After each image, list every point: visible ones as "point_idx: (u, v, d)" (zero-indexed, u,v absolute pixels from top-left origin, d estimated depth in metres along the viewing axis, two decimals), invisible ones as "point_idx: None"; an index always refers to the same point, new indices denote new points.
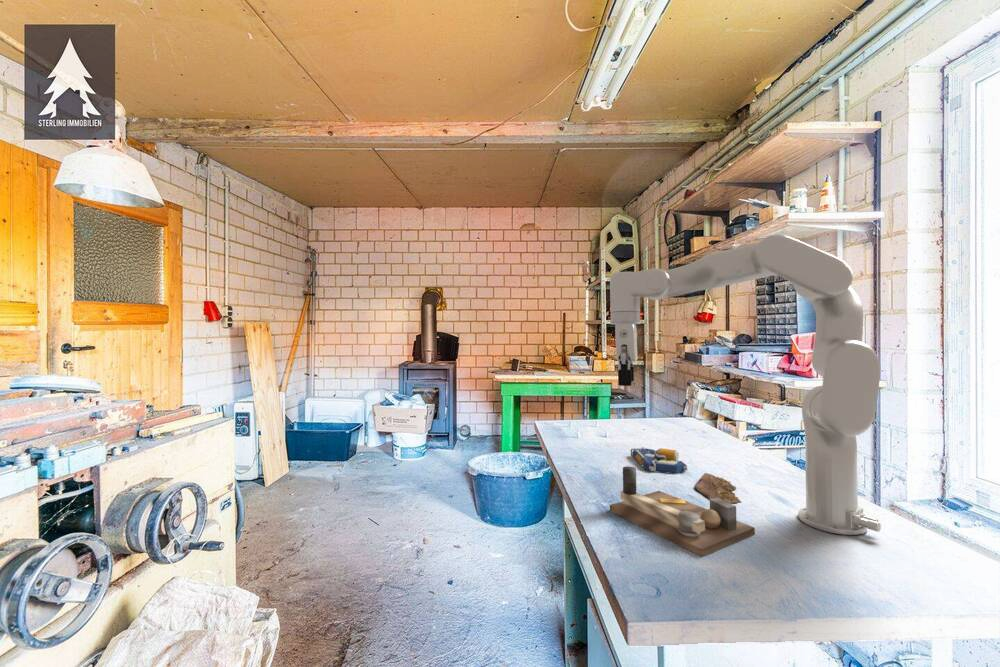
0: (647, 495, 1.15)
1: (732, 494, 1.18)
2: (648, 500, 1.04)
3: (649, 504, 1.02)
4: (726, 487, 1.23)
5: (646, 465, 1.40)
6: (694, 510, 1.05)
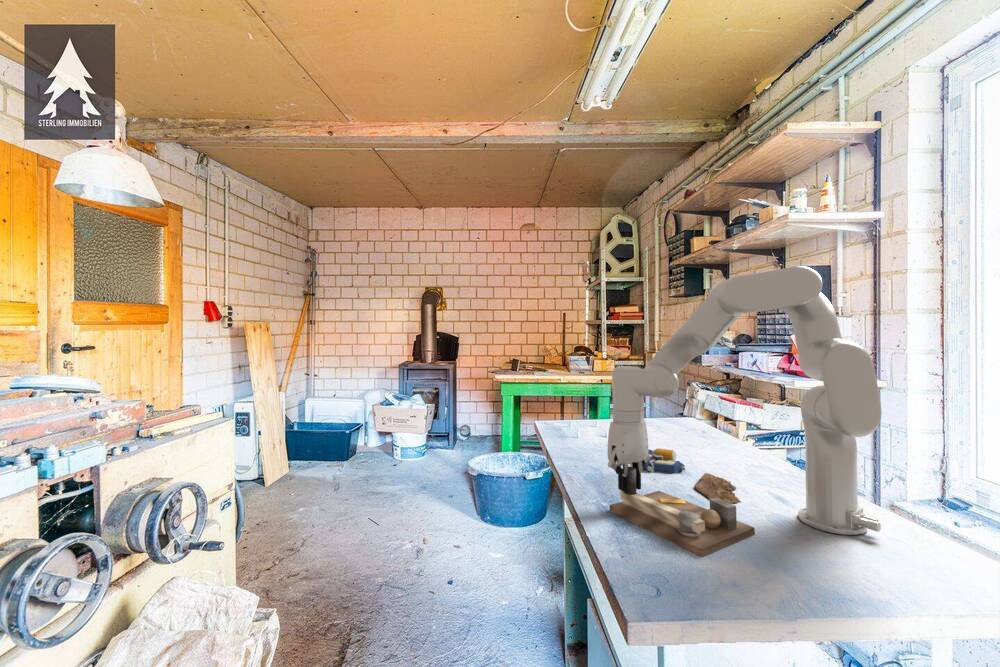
0: (647, 495, 1.15)
1: (732, 494, 1.18)
2: (648, 500, 1.04)
3: (649, 504, 1.02)
4: (726, 487, 1.23)
5: (644, 465, 1.40)
6: (694, 510, 1.05)
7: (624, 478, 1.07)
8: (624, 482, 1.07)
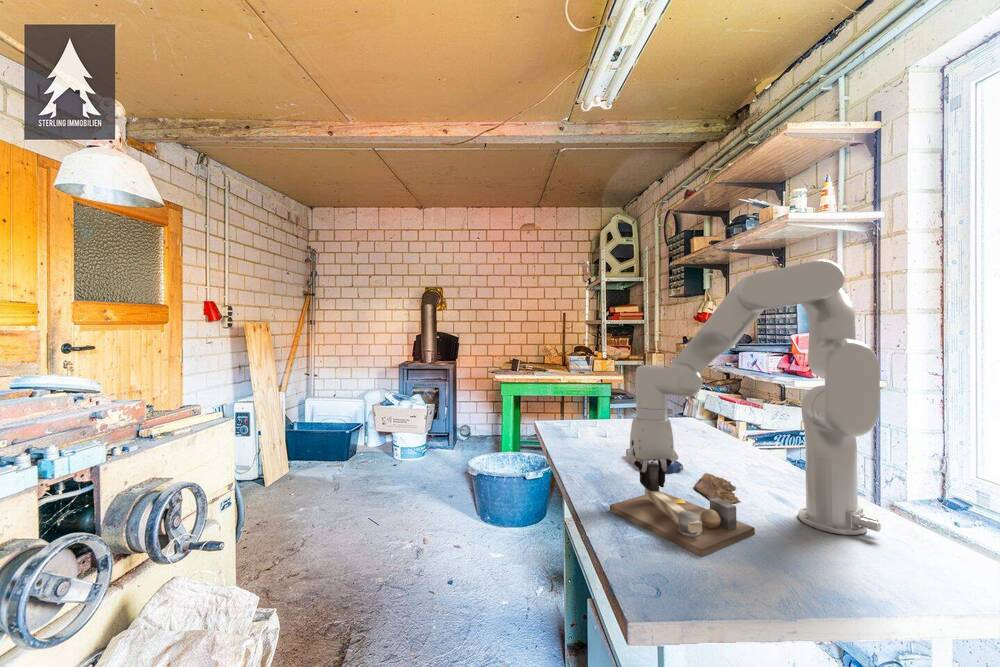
0: None
1: (732, 494, 1.18)
2: (663, 498, 1.05)
3: (661, 501, 1.04)
4: (726, 487, 1.23)
5: None
6: (694, 510, 1.05)
7: (643, 473, 1.10)
8: (643, 477, 1.10)
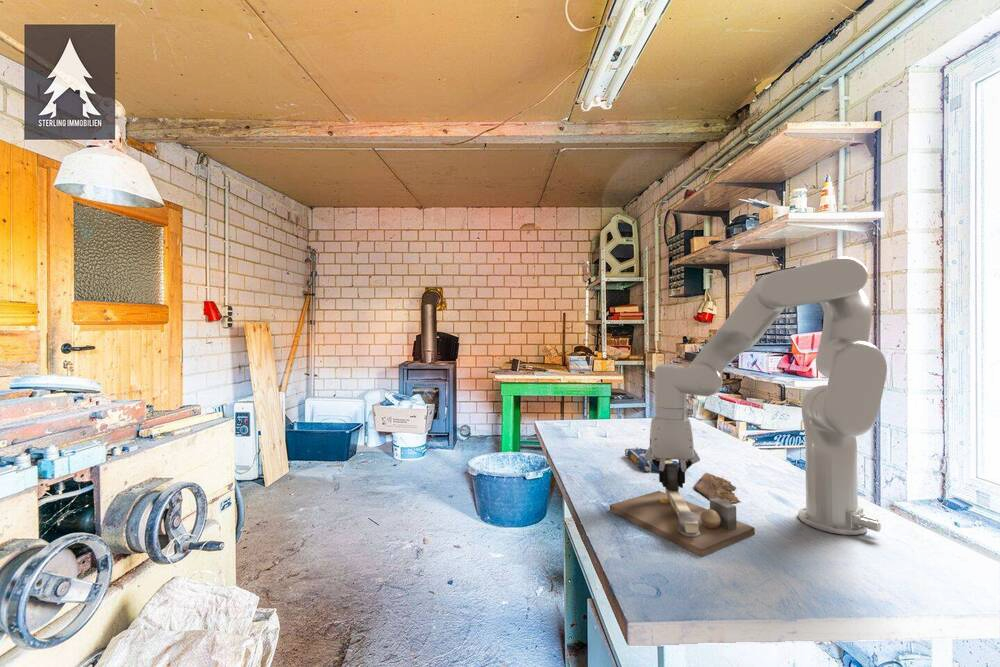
0: (647, 495, 1.15)
1: (732, 494, 1.18)
2: (676, 497, 1.05)
3: (673, 500, 1.04)
4: (726, 487, 1.23)
5: (641, 465, 1.40)
6: (694, 510, 1.05)
7: (661, 472, 1.11)
8: (661, 476, 1.11)
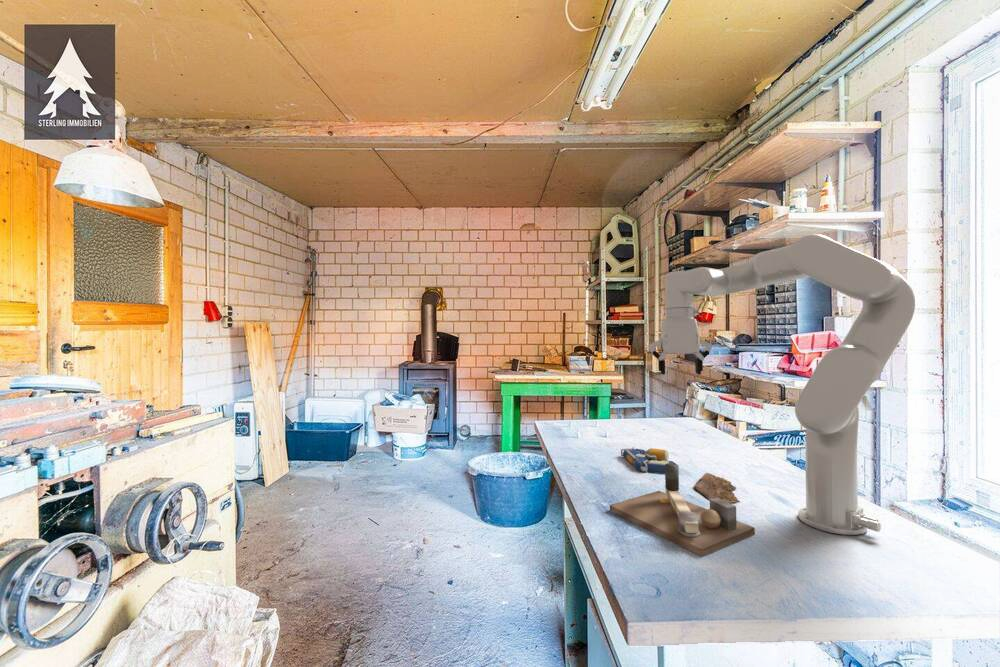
0: (647, 495, 1.15)
1: (731, 494, 1.18)
2: (676, 497, 1.05)
3: (673, 500, 1.04)
4: (726, 487, 1.23)
5: (638, 465, 1.40)
6: (694, 510, 1.05)
7: (661, 362, 1.26)
8: (661, 365, 1.26)
